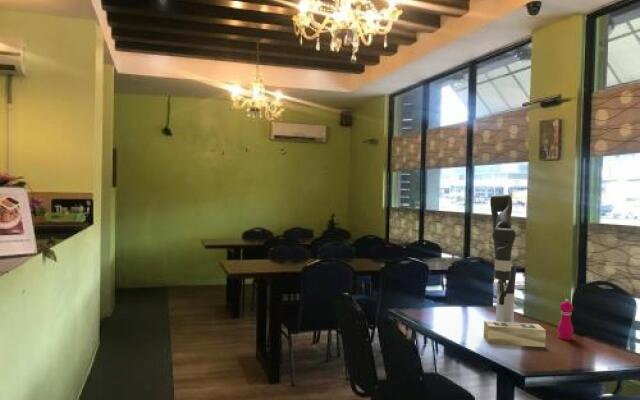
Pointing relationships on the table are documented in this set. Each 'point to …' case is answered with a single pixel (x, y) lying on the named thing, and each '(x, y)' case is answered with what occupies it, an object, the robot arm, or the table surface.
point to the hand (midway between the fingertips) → (501, 304)
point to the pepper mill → (565, 321)
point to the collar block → (514, 334)
